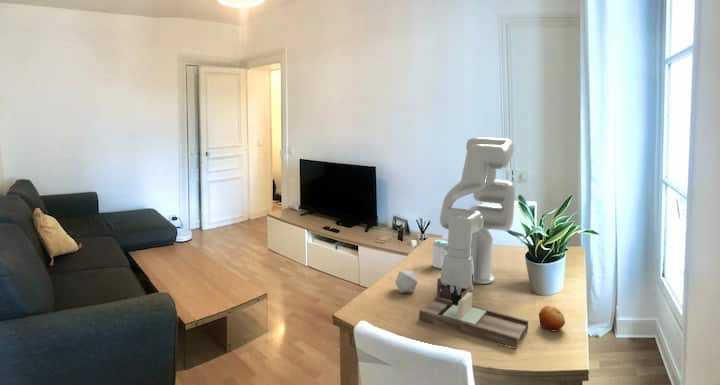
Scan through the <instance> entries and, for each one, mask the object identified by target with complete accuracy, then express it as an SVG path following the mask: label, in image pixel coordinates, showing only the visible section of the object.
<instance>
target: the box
mask: <svg viewBox="0 0 720 385" xmlns="http://www.w3.org/2000/svg"><path fill="white" fill-rule="evenodd" d="M436 286H437V287H436V297H440V298H444V299H447V300H451V296H452V293H451V292H450V290H449V288H448V287H447V286H445V285H443V284H442V282H441V277H438V278H437V284H436Z"/></svg>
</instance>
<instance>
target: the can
mask: <svg viewBox="0 0 720 385" xmlns="http://www.w3.org/2000/svg"><path fill="white" fill-rule="evenodd" d="M447 245H448V239H447V240H446V239H442V238H440V239H436V240H434V243H433V245H432V246H433V248H432V250H433V251H432V266H433V267H434V268H436V269H437V270H438V269H440V270H442V264H443V259H444V255H445V254H446V253H447V250H445V249H444V246H447Z"/></svg>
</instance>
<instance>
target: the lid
mask: <svg viewBox="0 0 720 385" xmlns="http://www.w3.org/2000/svg"><path fill="white" fill-rule="evenodd" d="M473 296H474V295H473V292H470V291H467V292H466V294H465V295H463V296H462V298H461V299H460V300H459V301H458V305H457V306H455V305H452V306H451V307H450V308H449V309H448V310H447V311H446V312H445V313H444V314H443V315H442V316H445V317H448V318H452V319H455V320H459V321H462V322H466V323H469V324H473V325H476V324H477V323H478V322H479V321H480V320H481V319H482V317H483V316H484V315H485V314H486V311H485V310H481V309H477V308H473V307H472V306H473Z"/></svg>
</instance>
